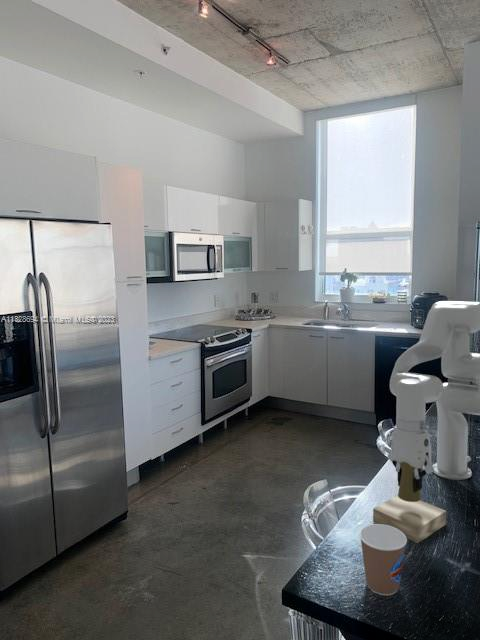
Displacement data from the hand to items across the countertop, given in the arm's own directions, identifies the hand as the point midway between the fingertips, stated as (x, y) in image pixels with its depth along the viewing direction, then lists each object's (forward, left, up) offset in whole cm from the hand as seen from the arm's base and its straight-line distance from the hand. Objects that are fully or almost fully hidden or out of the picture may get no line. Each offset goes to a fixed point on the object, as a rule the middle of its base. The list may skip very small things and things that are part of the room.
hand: (409, 487), depth 134 cm
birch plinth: (0, 0, -11) cm, 11 cm away
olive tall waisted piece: (0, 0, -3) cm, 3 cm away
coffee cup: (+28, +11, -11) cm, 32 cm away
